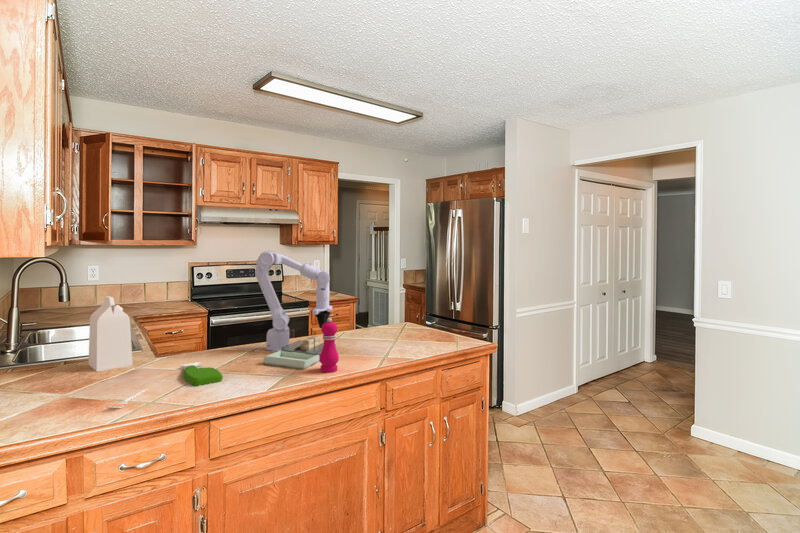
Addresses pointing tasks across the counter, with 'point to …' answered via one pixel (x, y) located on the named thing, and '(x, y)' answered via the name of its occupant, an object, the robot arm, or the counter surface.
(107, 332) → the milk
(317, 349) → the slotted plate
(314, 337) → the birch block rear
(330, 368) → the pepper mill
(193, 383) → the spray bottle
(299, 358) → the tray
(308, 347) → the birch block front
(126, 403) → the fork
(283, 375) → the counter surface
